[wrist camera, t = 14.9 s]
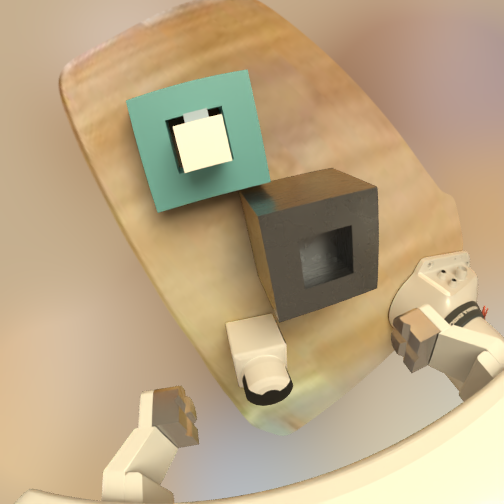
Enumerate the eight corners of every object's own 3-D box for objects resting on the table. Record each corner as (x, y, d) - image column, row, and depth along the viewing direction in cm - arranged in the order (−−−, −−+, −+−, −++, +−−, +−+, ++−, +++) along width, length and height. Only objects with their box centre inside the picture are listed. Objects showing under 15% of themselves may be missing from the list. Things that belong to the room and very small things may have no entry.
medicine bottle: (275, 345, 45) (298, 403, 35) (231, 354, 44) (246, 415, 34) (272, 311, 42) (299, 371, 32) (224, 321, 41) (239, 385, 31)
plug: (211, 109, 29) (219, 104, 21) (220, 150, 31) (232, 160, 23) (175, 118, 28) (170, 117, 20) (185, 159, 31) (184, 173, 23)
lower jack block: (240, 75, 28) (247, 69, 24) (261, 175, 33) (270, 182, 30) (133, 103, 26) (126, 100, 23) (161, 202, 32) (157, 212, 28)
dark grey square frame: (331, 167, 34) (377, 186, 26) (339, 251, 40) (377, 288, 31) (238, 189, 33) (257, 216, 24) (258, 275, 39) (279, 322, 30)
